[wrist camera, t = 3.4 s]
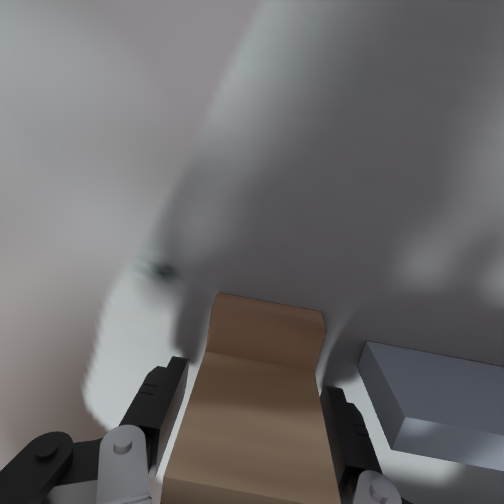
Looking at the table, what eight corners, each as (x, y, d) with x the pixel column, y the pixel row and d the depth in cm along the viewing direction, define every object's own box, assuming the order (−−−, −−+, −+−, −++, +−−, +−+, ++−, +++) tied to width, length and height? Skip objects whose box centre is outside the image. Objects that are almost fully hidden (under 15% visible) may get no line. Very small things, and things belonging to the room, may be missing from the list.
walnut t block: (218, 291, 13) (171, 415, 7) (320, 310, 13) (366, 451, 7) (197, 422, 15) (148, 603, 9) (284, 438, 15) (293, 630, 9)
